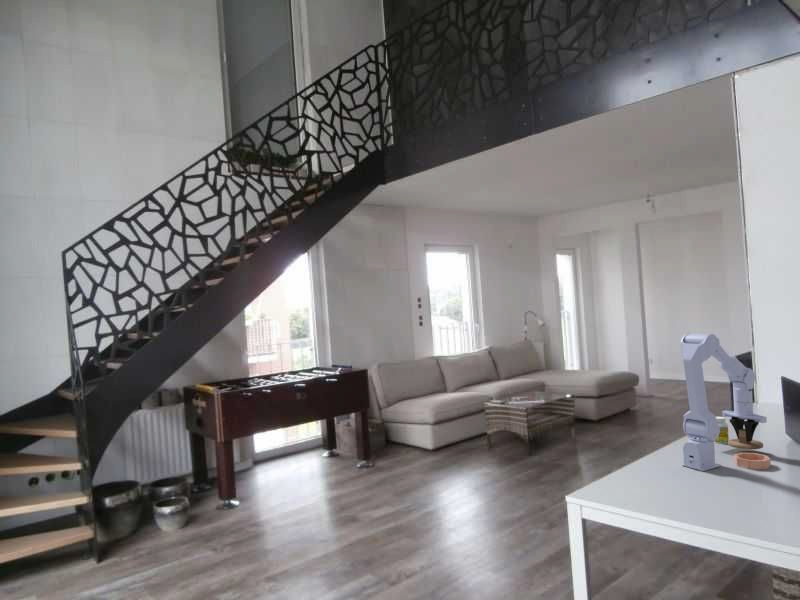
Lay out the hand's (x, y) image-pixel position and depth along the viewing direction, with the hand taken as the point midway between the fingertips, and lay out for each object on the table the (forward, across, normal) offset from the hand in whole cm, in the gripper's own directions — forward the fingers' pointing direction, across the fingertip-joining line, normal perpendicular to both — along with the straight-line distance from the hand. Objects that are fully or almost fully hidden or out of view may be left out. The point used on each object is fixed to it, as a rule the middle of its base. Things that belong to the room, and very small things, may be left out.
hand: (744, 439), depth 197 cm
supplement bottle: (+5, +14, -7) cm, 17 cm away
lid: (+2, 0, 0) cm, 2 cm away
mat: (+5, 0, 0) cm, 5 cm away
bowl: (+5, -9, +11) cm, 15 cm away
